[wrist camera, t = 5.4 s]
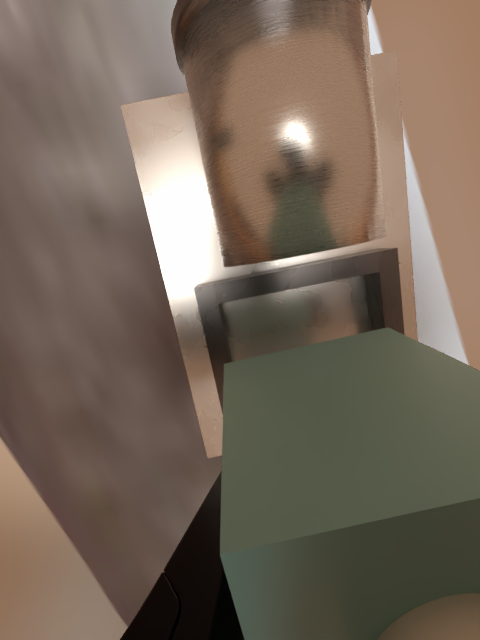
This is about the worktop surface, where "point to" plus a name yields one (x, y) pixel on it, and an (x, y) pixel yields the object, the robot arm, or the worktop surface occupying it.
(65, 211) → the worktop surface
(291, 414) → the green block with knob
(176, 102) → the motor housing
